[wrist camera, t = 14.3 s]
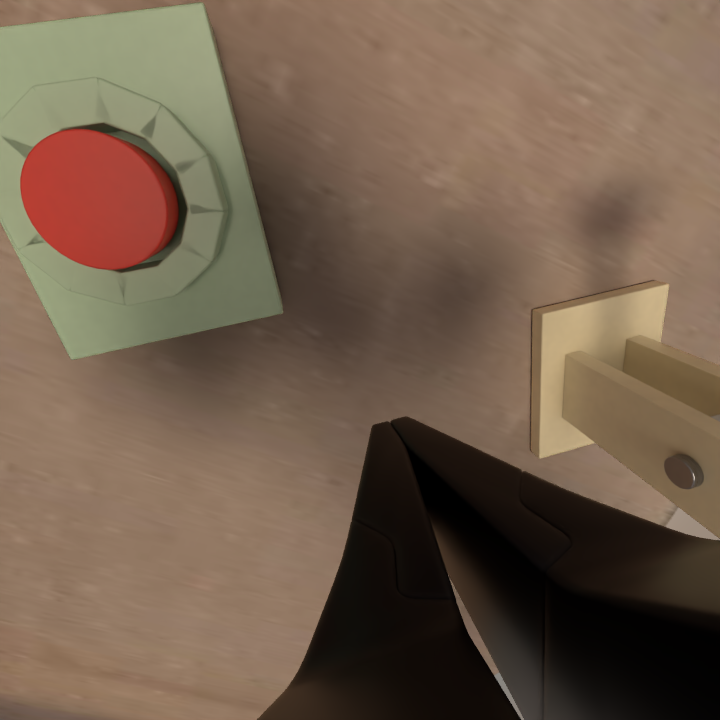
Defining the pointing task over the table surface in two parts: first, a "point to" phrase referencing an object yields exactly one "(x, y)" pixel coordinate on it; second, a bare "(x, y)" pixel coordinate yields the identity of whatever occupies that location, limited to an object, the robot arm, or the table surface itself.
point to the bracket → (628, 394)
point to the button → (98, 199)
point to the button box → (166, 145)
